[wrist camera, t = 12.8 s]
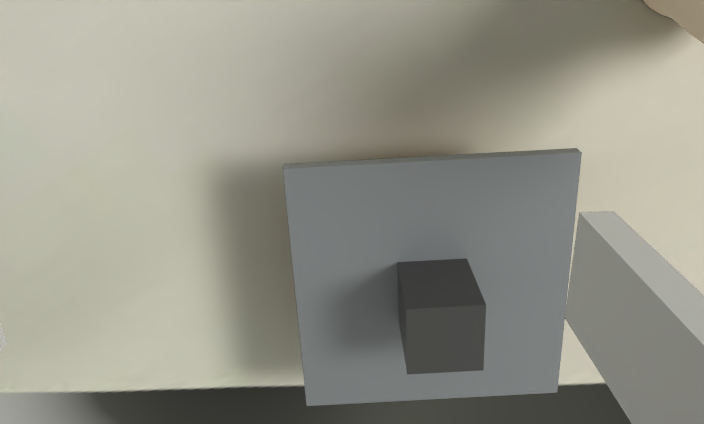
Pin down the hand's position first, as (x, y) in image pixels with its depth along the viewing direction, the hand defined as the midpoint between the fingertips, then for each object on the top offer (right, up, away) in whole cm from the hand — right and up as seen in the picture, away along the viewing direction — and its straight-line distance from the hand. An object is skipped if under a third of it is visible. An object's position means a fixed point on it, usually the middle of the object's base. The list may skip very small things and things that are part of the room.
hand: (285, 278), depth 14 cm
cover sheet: (+6, -3, +23) cm, 24 cm away
